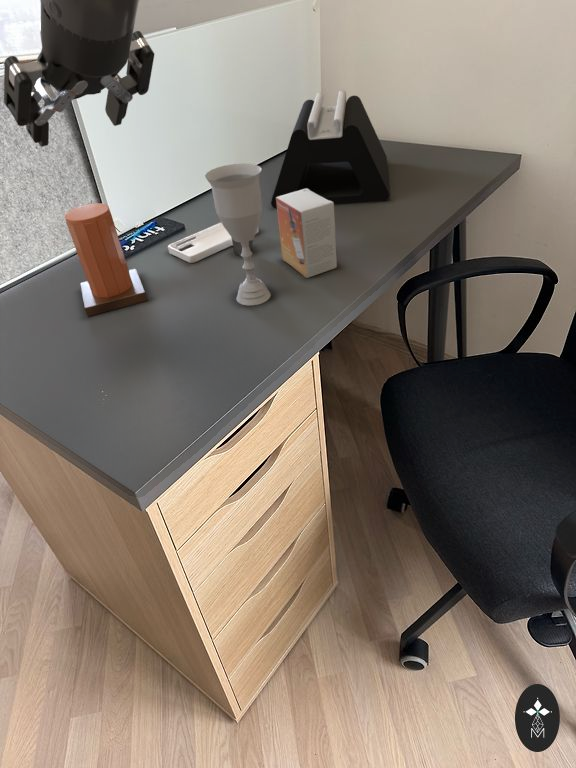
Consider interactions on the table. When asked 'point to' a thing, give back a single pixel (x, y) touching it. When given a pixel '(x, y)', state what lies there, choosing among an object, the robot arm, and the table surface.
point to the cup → (99, 249)
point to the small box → (307, 232)
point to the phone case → (203, 244)
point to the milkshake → (239, 246)
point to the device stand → (335, 154)
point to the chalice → (240, 218)
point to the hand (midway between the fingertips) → (77, 128)
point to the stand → (113, 297)
